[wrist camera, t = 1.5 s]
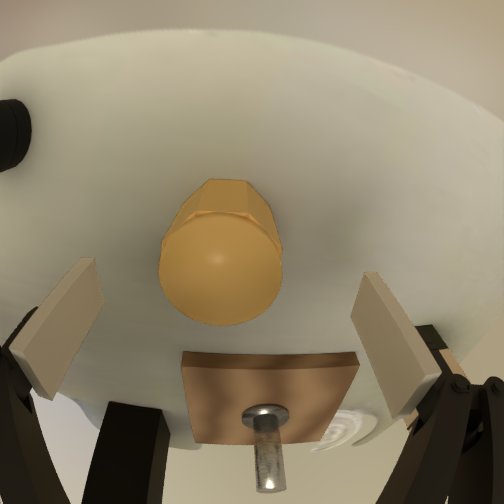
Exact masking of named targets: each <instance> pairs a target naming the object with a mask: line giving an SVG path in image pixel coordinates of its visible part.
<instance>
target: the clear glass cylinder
mask: <svg viewBox="0 0 504 504" xmlns="http://www.w3.org/2000/svg"><path fill="white" fill-rule="evenodd" d="M288 420H289V411H288V410H287V408H285V407H284V406H281V405H278V404H259V405H255V406H252V407H249V408H247V409H246V410H245V411H244V412H243V413H242V423H243V424H244V425H245V426H246V427H248V428H251V429H253V435H254V451H255V452H254V453H255V471H256V489H257V492H259V493H276V492H281V491H284V490H286V480H285V472H284V463H283V455H282V445H281V437H280V428H279V427H280V426H282V425H284V424H285V423H286V422H287V421H288Z"/></svg>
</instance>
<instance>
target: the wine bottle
mask: <svg viewBox="0 0 504 504" xmlns="http://www.w3.org/2000/svg"><path fill="white" fill-rule="evenodd" d="M30 137H31V122H30V117H29V114H28V111H27V109H26V107H25V106H24V105H23V103H22V102H20V101H18V100H16V99H10V100H0V173H1V172H3V171H5V170H8V169H10V168H13V167H15V166H17V165H18V164H19V163H20V162H21V161H22V159H23V158H24V156H25V154H26V152H27V150H28V146H29V143H30Z"/></svg>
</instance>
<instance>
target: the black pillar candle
mask: <svg viewBox="0 0 504 504" xmlns="http://www.w3.org/2000/svg"><path fill="white" fill-rule="evenodd" d="M169 440H170V432H169V430H168V427H167V424H166V422H165V419H164V416H163V413H162V411H161V410H156V409H149V408H142V407H136V406H129V405H124V404H118V403H113V402H109V403H108V406H107V409H106V413H105V416H104V419H103V422H102V425H101V429H100V432H99V436H98V439H97V443H96V446H95V450H94V454H93V457H92V461H91V465H90V469H89V472H88V476H87V481H86V485H85V489H84V494H83V498H82V503H81V504H162V495H163V486H164V478H165V470H166V462H167V454H168V447H169Z"/></svg>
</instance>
